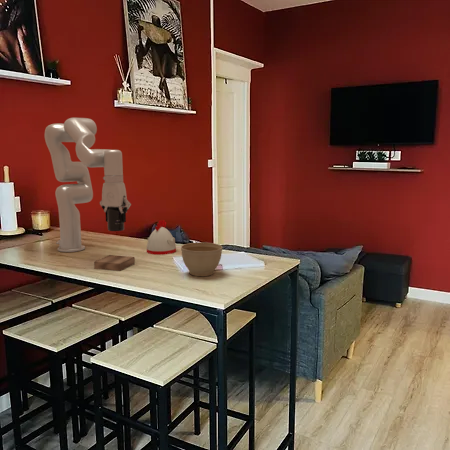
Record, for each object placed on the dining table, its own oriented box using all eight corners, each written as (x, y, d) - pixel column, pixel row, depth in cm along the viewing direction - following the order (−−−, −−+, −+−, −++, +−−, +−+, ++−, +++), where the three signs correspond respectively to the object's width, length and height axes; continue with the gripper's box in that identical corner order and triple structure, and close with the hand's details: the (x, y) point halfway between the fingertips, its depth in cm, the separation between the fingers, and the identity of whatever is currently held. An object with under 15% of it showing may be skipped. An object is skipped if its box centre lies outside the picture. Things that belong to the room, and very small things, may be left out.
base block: (94, 268, 189) (94, 261, 189) (110, 261, 201) (109, 255, 200) (120, 270, 186) (120, 263, 185) (134, 263, 197) (134, 256, 197)
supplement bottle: (120, 231, 193) (119, 203, 191) (105, 231, 194) (103, 202, 192) (126, 229, 200) (125, 201, 198) (112, 228, 201) (110, 201, 199)
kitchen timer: (181, 250, 224) (181, 219, 221) (165, 256, 212) (164, 223, 209) (157, 247, 230) (157, 217, 228) (140, 252, 218) (139, 221, 215)
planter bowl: (189, 281, 172) (189, 252, 170) (176, 270, 186) (175, 244, 185) (228, 276, 178) (228, 248, 176) (213, 266, 193) (213, 241, 191)
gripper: (91, 179, 194) (93, 221, 197) (124, 180, 186) (126, 224, 189) (103, 178, 200) (105, 219, 203) (136, 179, 193) (137, 221, 196)
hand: (115, 221), depth 196 cm, fingers closed on supplement bottle, 6 cm apart
